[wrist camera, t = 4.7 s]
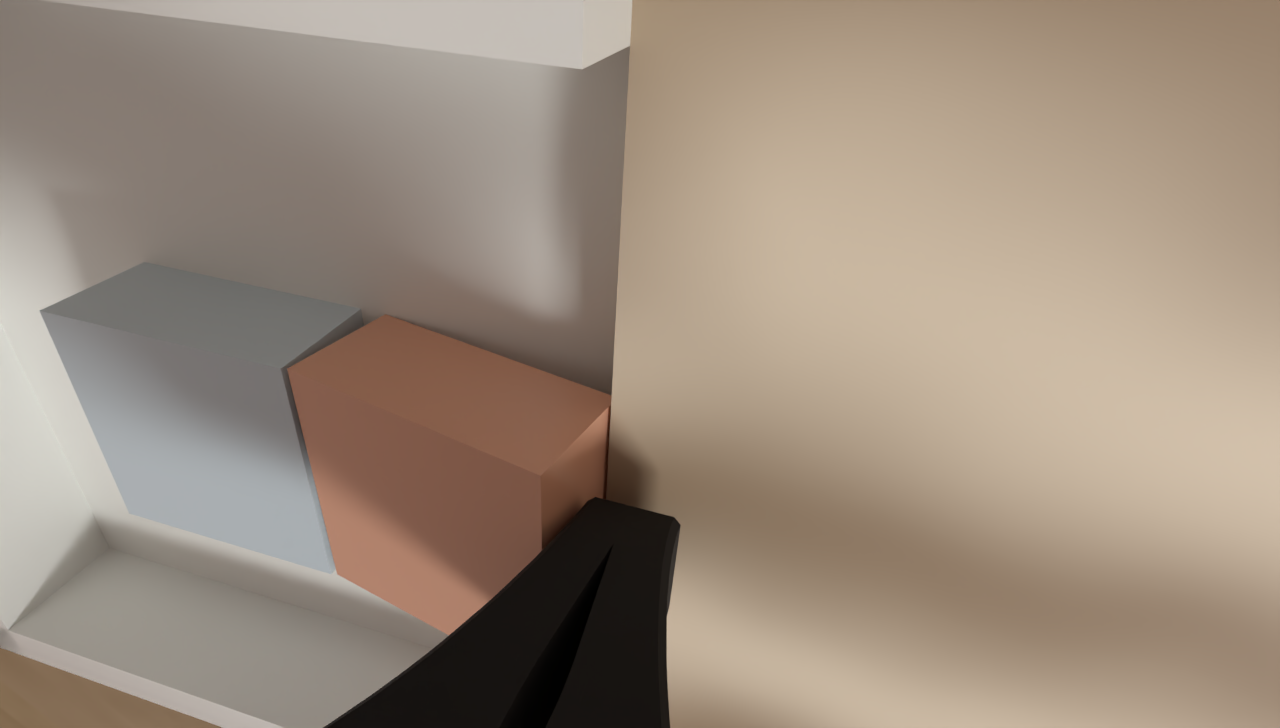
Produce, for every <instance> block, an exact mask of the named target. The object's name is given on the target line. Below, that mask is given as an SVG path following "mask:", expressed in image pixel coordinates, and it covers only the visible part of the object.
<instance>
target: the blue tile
mask: <svg viewBox="0 0 1280 728" xmlns="http://www.w3.org/2000/svg"><path fill="white" fill-rule="evenodd" d="M40 313H41V315H42V318H43V320H44V322H45V325H46V327H47V329H48V331H49V334H50V336H51V338H52V340H53V343H54V345H55V347H56V349H57V352H58V354H59V356H60V358H61V361H62V363H63V365H64V367H65V370H66V372H67V374H68V376H69V379H70V381H71V383H72V385H73V388H74V390H75V392H76V394H77V397H78V399H79V401H80V403H81V406H82V408H83V410H84V413H85V415H86V417H87V419H88V422H89V424H90V426H91V428H92V431H93V433H94V435H95V437H96V440H97V442H98V444H99V446H100V449H101V451H102V453H103V455H104V458H105V460H106V462H107V464H108V467H109V469H110V471H111V473H112V476H113V478H114V480H115V482H116V485H117V487H118V489H119V492H120V494H121V496H122V498H123V501H124V503H125V505H126V507H127V510H128V512H129V514H132V515H136V516H139V517H142V518H146V519H149V520H152V521H156V522H159V523H162V524H166V525H169V526H172V527H176V528H179V529H182V530H186V531H189V532H192V533H196V534H199V535H202V536H206V537H209V538H212V539H216V540H219V541H222V542H226V543H229V544H232V545H235V546H239V547H242V548H245V549H249V550H252V551H255V552H259V553H262V554H265V555H269V556H272V557H275V558H279V559H282V560H285V561H289V562H292V563H295V564H299V565H302V566H305V567H309V568H312V569H315V570H319V571H322V572H325V573H329V574H332V573H333V572H334V571H335V569H336V567H335V563H334V559H333V555H332V551H331V547H330V543H329V539H328V535H327V531H326V526H325V522H324V518H323V514H322V510H321V506H320V502H319V498H318V494H317V490H316V486H315V481H314V477H313V473H312V469H311V465H310V461H309V457H308V453H307V449H306V445H305V440H304V436H303V432H302V428H301V424H300V420H299V416H298V412H297V408H296V404H295V400H294V395H293V391H292V387H291V383H290V379H289V375H288V371H287V368H289V367H291V366H293V365H294V364H296V363H298V362H300V361H302V360H304V359H305V358H307V357H309V356H311V355H313V354H314V353H316V352H318V351H320V350H322V349H323V348H325V347H327V346H329V345H331V344H332V343H334V342H336V341H338V340H340V339H341V338H343V337H345V336H347V335H349V334H351V333H352V332H354V331H356V330H358V329H360V328H361V327H363V326H364V324H363V318H362V312H361V309H360V308H356V307H351V306H346V305H342V304H337V303H332V302H328V301H323V300H318V299H314V298H309V297H304V296H300V295H295V294H291V293H286V292H281V291H277V290H272V289H267V288H263V287H258V286H253V285H249V284H244V283H240V282H235V281H230V280H226V279H221V278H216V277H212V276H207V275H202V274H198V273H193V272H189V271H184V270H179V269H175V268H170V267H165V266H161V265H156V264H151V263H147V262H143V263H141V264H139V265H137V266H135V267H133V268H130V269H128V270H126V271H124V272H122V273H120V274H117V275H115V276H113V277H111V278H109V279H107V280H105V281H102V282H100V283H98V284H96V285H94V286H92V287H89V288H87V289H85V290H83V291H81V292H79V293H76V294H74V295H72V296H70V297H68V298H66V299H63V300H61V301H59V302H57V303H55V304H53V305H51V306H48V307H46V308H44V309H42V310H40Z"/></svg>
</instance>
